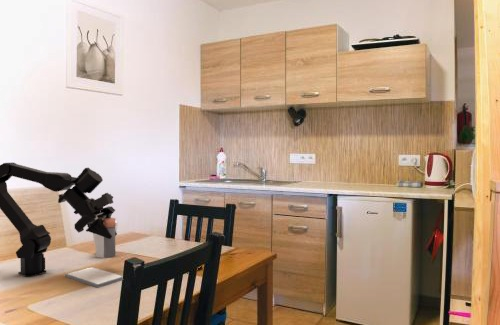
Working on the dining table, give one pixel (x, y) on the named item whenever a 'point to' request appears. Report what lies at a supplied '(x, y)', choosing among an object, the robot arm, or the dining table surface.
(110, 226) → the cylinder
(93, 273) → the notebook
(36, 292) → the dining table surface
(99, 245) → the foam cup
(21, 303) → the dining table surface
